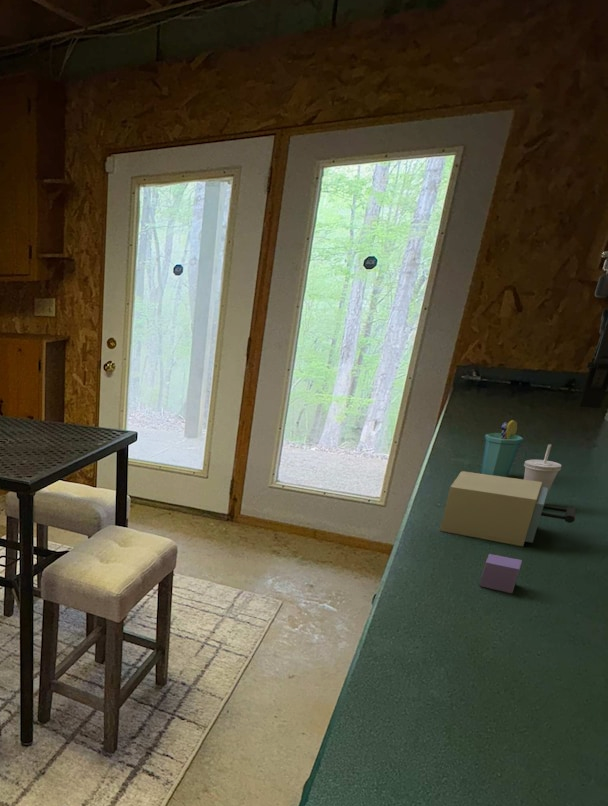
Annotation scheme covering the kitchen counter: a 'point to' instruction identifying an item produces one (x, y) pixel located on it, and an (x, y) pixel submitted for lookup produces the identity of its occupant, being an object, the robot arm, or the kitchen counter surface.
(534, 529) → the drawer
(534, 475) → the smoothie
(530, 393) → the kitchen counter surface
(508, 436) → the cup
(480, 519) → the tan drawer cabinet
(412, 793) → the kitchen counter surface
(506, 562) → the block
